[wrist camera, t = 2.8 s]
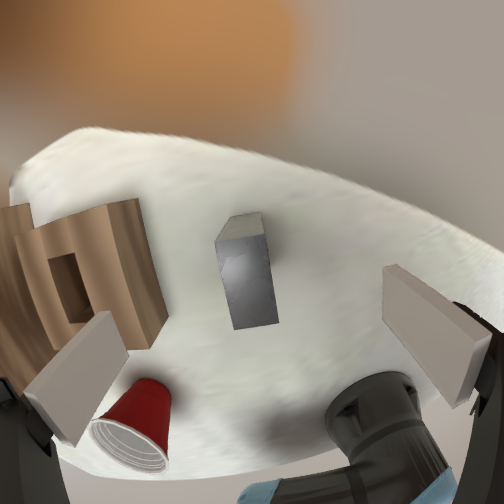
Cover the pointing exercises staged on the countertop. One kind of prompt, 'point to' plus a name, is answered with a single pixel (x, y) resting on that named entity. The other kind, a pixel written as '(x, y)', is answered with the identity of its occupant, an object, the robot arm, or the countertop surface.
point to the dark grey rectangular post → (246, 272)
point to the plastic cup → (136, 428)
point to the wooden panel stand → (73, 283)
